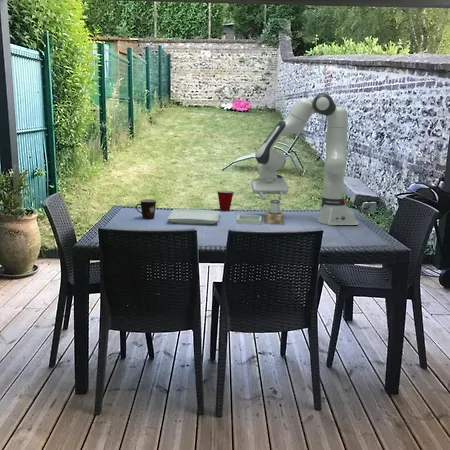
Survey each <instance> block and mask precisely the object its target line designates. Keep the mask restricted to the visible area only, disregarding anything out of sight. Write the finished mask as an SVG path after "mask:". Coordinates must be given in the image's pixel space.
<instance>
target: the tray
mask: <svg viewBox="0 0 450 450" xmlns="http://www.w3.org/2000/svg"><path fill="white" fill-rule="evenodd" d="M262 219H263V218H262V215H255V214H254V215H252V214H238V215H237V217H236V224H237V225H239V224H240V225H262Z"/></svg>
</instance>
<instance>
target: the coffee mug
mask: <svg viewBox="0 0 450 450" xmlns="http://www.w3.org/2000/svg"><path fill="white" fill-rule="evenodd" d="M156 204H157V200H156V199H153V198H145V199H144V198H142V199H140V203H138V204H136V205H135V210H136V211H137V212H138V213H140V214H141V217H142V219H143V220H150V221H151V220H154V219H155V213H156V206H157V205H156ZM138 206H140V208H141V211H140V210H138Z"/></svg>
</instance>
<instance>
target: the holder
mask: <svg viewBox="0 0 450 450" xmlns="http://www.w3.org/2000/svg"><path fill="white" fill-rule="evenodd" d="M284 217H285V213H284V211H279V215H274V214H270V210H265V213H264V224H265V225H279V226H280V225H283V226H284Z"/></svg>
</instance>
